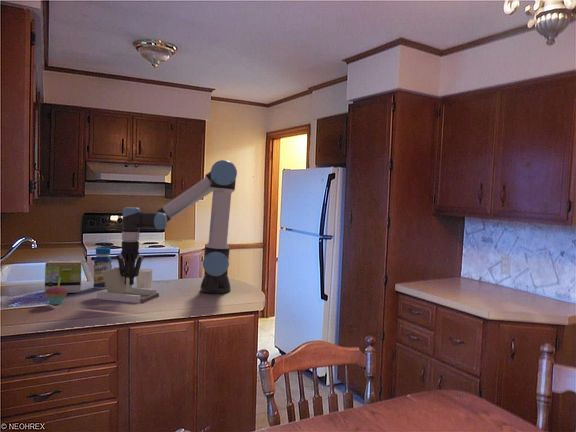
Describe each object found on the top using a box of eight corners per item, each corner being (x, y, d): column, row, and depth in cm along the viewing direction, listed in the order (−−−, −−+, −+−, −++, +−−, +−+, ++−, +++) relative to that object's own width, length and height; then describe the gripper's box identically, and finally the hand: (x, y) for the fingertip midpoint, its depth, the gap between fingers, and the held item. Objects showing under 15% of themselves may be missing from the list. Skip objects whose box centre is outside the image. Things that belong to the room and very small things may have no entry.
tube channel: (156, 295, 202) (156, 289, 202) (139, 303, 187) (139, 296, 187) (116, 292, 206) (116, 285, 206) (96, 298, 192) (96, 292, 191)
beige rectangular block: (133, 288, 201) (126, 264, 201) (120, 293, 192) (113, 267, 192) (117, 293, 203) (110, 269, 203) (104, 298, 194) (96, 272, 194)
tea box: (44, 294, 196) (44, 262, 195) (46, 289, 205) (47, 259, 205) (80, 292, 202) (81, 261, 202) (81, 288, 211) (81, 258, 211)
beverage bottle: (114, 286, 219) (115, 247, 218) (104, 289, 210) (105, 249, 209) (99, 285, 220) (100, 246, 219) (89, 288, 212) (90, 248, 211)
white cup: (149, 292, 209) (149, 272, 208) (133, 291, 209) (133, 271, 208) (154, 288, 216) (154, 269, 216) (139, 288, 217) (139, 268, 216)
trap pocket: (158, 296, 201) (158, 292, 201) (143, 302, 188) (143, 299, 188) (147, 295, 202) (147, 291, 202) (131, 301, 189) (131, 298, 189)
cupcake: (71, 302, 185) (72, 274, 184) (56, 306, 176) (57, 277, 176) (54, 300, 186) (55, 273, 186) (39, 304, 178) (39, 276, 178)
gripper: (147, 241, 198) (145, 291, 199) (122, 239, 200) (120, 288, 201) (138, 242, 190) (137, 294, 191) (112, 240, 193) (111, 292, 194)
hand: (128, 291), depth 196 cm, fingers closed
